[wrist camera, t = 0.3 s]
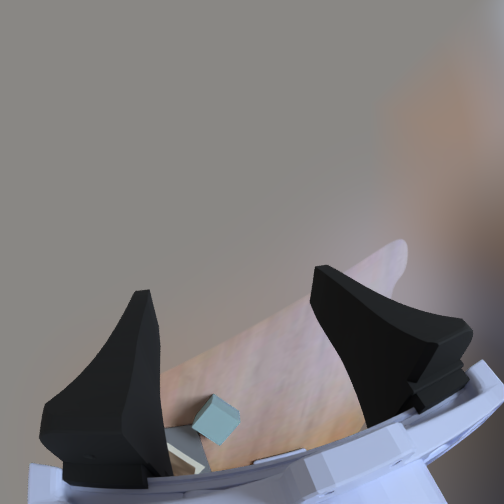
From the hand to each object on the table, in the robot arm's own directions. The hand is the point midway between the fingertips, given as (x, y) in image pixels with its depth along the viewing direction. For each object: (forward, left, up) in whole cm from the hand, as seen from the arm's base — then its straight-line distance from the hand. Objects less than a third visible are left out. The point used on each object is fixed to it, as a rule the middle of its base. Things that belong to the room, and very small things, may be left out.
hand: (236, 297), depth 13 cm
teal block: (-14, +5, -29) cm, 33 cm away
